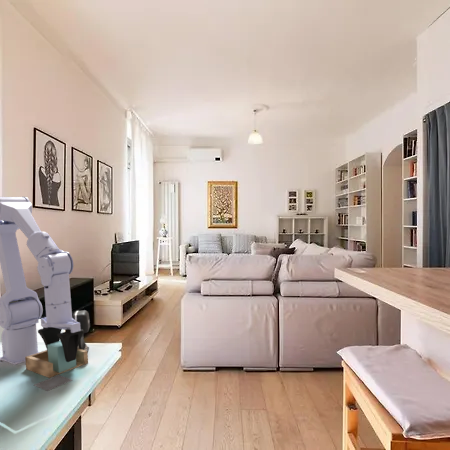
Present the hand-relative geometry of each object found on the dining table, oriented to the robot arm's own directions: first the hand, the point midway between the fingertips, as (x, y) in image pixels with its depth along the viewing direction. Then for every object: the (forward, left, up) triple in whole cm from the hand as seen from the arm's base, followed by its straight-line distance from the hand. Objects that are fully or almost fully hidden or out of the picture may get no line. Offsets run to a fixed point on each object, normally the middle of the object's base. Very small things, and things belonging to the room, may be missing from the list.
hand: (62, 358), depth 92 cm
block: (0, 0, -2) cm, 2 cm away
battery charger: (-6, +9, -3) cm, 12 cm away
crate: (-3, 0, -3) cm, 4 cm away
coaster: (+6, -6, -3) cm, 9 cm away
